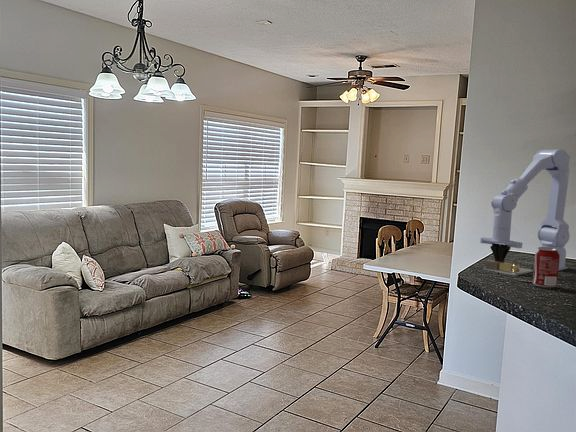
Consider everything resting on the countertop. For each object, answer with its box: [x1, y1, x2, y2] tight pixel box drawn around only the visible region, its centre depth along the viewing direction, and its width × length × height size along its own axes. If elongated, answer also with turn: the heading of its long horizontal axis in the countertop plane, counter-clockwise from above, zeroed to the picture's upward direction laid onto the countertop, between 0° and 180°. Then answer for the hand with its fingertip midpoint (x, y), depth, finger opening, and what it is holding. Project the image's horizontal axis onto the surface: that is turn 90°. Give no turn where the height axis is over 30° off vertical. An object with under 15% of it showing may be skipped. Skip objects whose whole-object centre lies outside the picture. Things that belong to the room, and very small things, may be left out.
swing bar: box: [486, 259, 521, 272], centre depth 179 cm, size 11×2×3 cm, turn 43°
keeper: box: [485, 260, 507, 272], centre depth 181 cm, size 4×7×2 cm, turn 41°
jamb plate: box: [482, 266, 534, 277], centre depth 182 cm, size 13×12×1 cm
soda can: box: [532, 246, 560, 289], centre depth 158 cm, size 7×7×12 cm
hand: (499, 265), depth 183 cm, fingers closed
